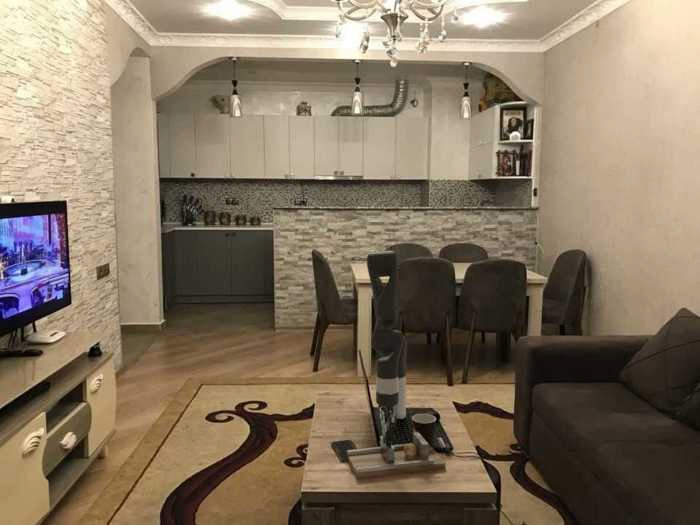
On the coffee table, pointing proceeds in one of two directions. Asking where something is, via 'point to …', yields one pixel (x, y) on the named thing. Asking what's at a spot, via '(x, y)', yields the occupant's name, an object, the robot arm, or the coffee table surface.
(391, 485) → the coffee table surface
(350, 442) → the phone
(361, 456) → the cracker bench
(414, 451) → the nut
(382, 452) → the moving jaw
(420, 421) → the coffee mug
